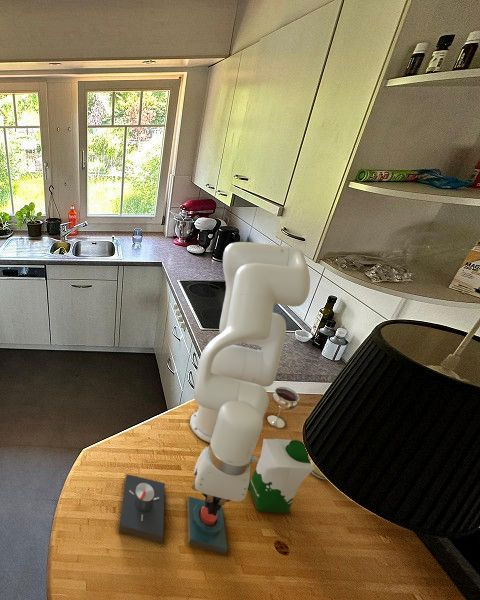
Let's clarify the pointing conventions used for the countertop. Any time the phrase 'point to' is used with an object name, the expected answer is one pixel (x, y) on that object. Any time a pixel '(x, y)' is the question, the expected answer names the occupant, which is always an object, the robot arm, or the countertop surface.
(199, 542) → the teal button housing
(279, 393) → the wineglass
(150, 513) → the plate
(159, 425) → the countertop surface
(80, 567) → the countertop surface
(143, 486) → the rotary knob
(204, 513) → the button
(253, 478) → the milk carton
